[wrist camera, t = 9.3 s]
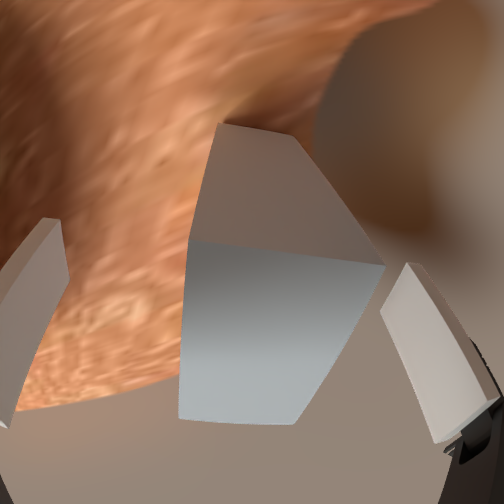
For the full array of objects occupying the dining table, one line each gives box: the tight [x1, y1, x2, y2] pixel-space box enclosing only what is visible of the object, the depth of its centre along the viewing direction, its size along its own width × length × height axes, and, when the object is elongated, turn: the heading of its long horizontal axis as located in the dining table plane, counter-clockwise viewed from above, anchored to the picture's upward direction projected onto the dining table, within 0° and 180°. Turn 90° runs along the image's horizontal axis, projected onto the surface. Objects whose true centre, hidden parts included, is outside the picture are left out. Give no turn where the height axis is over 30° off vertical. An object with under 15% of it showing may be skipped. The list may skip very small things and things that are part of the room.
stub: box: [179, 123, 386, 425], centre depth 13 cm, size 4×7×12 cm, turn 169°
